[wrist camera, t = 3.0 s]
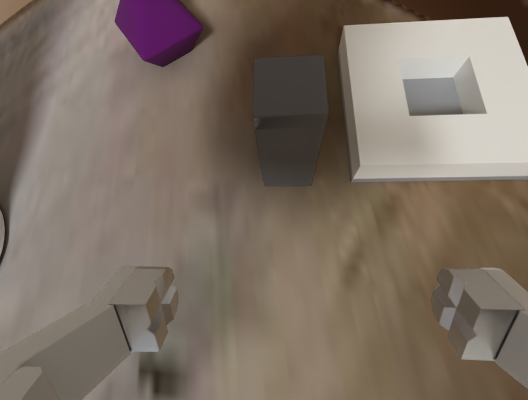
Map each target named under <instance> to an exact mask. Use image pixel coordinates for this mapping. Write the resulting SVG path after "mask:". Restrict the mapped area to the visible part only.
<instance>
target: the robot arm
mask: <svg viewBox="0 0 528 400" xmlns="http://www.w3.org/2000/svg"><path fill="white" fill-rule="evenodd" d="M4 235H5V227H4V219H3V215H2V212H1V210H0V255H1V252H2V248H3V243H4ZM173 279H174V274H173V271H172V269H171V268H169V267H141V266H139V267H132V266H124V267H121V268H119V269H118V271H117V272H116V273H115V274H114V276H113V277H112V278H111V279H110V281H109V282H108V283H107V284H106V285H105V287H104V288H103V289H102V290H101V292H100V293H99V294H98V295H97V297H96V298H95V299H94V300H93V301H92V303H91V304H90V305H83V306H82V307H80V308H78V309H76V310H75V311H73V312H71V313H69V314H68V315H66V316H64V317H62V318H61V319H59V320H57V321H55V322H54V323H52V324H50V325H48V326H47V327H45V328H43V329H41V330H40V331H38V332H36V333H34V334H33V335H31V336H29V337H27V338H26V339H24V340H22V341H21V342H19V343H17V344H15V345H14V346H12V347H10V348H8V349H7V350H5V351H3V352H1V353H0V400H82V399H83V398H84V397H85V396H86V395H87V394H88V393H89V392H90V391H91V390H93V389H94V388H95V387H96V386H97V385H98V384H99V383H100V382H101V381H102V380H103V379H104V378H105V377H106V376H107V375H108V374H110V373H111V372H112V371H113V370H114V369H115V368H116V367H117V366H118V365H119V364H120V363H121V362H122V361H123V360H124V359H125V358H127V357H128V356H129V355H130V354H131V353H130V352H160V349H161V347H162V345H163V342H164V340H165V338H166V335H167V333H168V329H167V324H168V323H169V322H171V321H172V320H173V319H174V317H175V314H176V312H177V306H178V292H177V288H176V287H175V286H174V285H172V284H171V283H172V281H173ZM436 280H437V281H438V283H439V284H440V286H438V287H437V288H436V289H435V290H433V293H432V297H431V305H432V311H433V313H434V316H435V318H436V320H437V321H438V323H439V324H440V325H442V326H443V327H444V328H446V329H447V330H449V332H448V336H447V337H448V339H449V341H450V342H451V344H452V345H453V347H454V349H455V350H456V352H457V353H458V355H459V357H460V358H461V359H468V360H487V361H495V363H496V364H497V365H499V366H500V367H501V368H502V369H504V370H505V371H506V372H507V373H509V374H510V375H511V376H512V377H514V378H515V379H516V380H517V381H519V382H520V383H521V384H522V385H524V386H525V387H526V388H527V389H528V292H527V291H526V290H525V289H524V288H522V287H521V286H520V285H519V284H518V283H517V282H516V281H515V280H514V279H512V278H511V277H510V276H509V275H508V274H507V273H506V272H505V271H503V270H501V269H499V268H478V269H441V270H440V271H439V272H438V275H437V279H436Z"/></svg>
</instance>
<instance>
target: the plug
mask: <svg viewBox="0 0 528 400" xmlns="http://www.w3.org/2000/svg"><path fill="white" fill-rule="evenodd" d="M328 115H329V110H328V98H327V86H326V73H325V61H324V55H308V56H286V57H265V58H254V81H253V122H254V128H255V134H256V140H257V146H258V152H259V157H260V163H261V169H262V175H263V181H264V186H309V185H311V184H312V180H313V176H314V172H315V168H316V164H317V160H318V155H319V151H320V147H321V143H322V139H323V135H324V131H325V127H326V123H327V119H328Z"/></svg>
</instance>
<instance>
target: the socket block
mask: <svg viewBox="0 0 528 400" xmlns="http://www.w3.org/2000/svg"><path fill="white" fill-rule="evenodd" d="M338 63H339V73H340V82H341V92H342V102H343V112H344V121H345V131H346V141H347V150H348V160H349V170H350V180H351V182H400V181H462V180H524V179H528V66H527V64H526V61H525V59H524V56H523V54H522V51H521V49H520V46H519V43H518V41H517V39H516V36H515V33H514V31H513V28H512V26H511V23H510V21H509V18H508V17H499V18H498V17H496V18H477V19H460V20H441V21H440V20H439V21H419V22H400V23H381V24H362V25H344V27H343V31H342V36H341V40H340V45H339V49H338Z"/></svg>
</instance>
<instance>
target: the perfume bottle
mask: <svg viewBox="0 0 528 400" xmlns="http://www.w3.org/2000/svg"><path fill="white" fill-rule="evenodd" d="M115 23H116V25H117V26H118V27H119V29H120V30H121V31H122V33H123V34H124V35H125V37H126V38H127V39H128V41H129V42H130V43H131V45H132V46H133V47H134V49H135V50H136V51H137V53H138V54H139V55H140V57H141V58H142V59H143V60H144V61H146V62H149V63H152V64H155V65H158V66H161V67H164V66H166V65H168V64H169V63H171V62H173V61H175V60H176V59H178V58H180V57H182V56H183V55H185V54H187V53H188V52H190V51H191V50H192V49H193V47H194V45H195V43H196V41H197V39H198V37H199V35H200V33H201V31H202V29H203V25H202V24H201V23H200V22H199V21H198V20H197V19H196V17H195V16H194V15H193V14H192V13H191V12H190V11H189V10H188V9H187V8H186V7H185V5H184V4H183V3H182V2H181V1H180V0H120V3H119V6H118V10H117V14H116V18H115Z"/></svg>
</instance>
